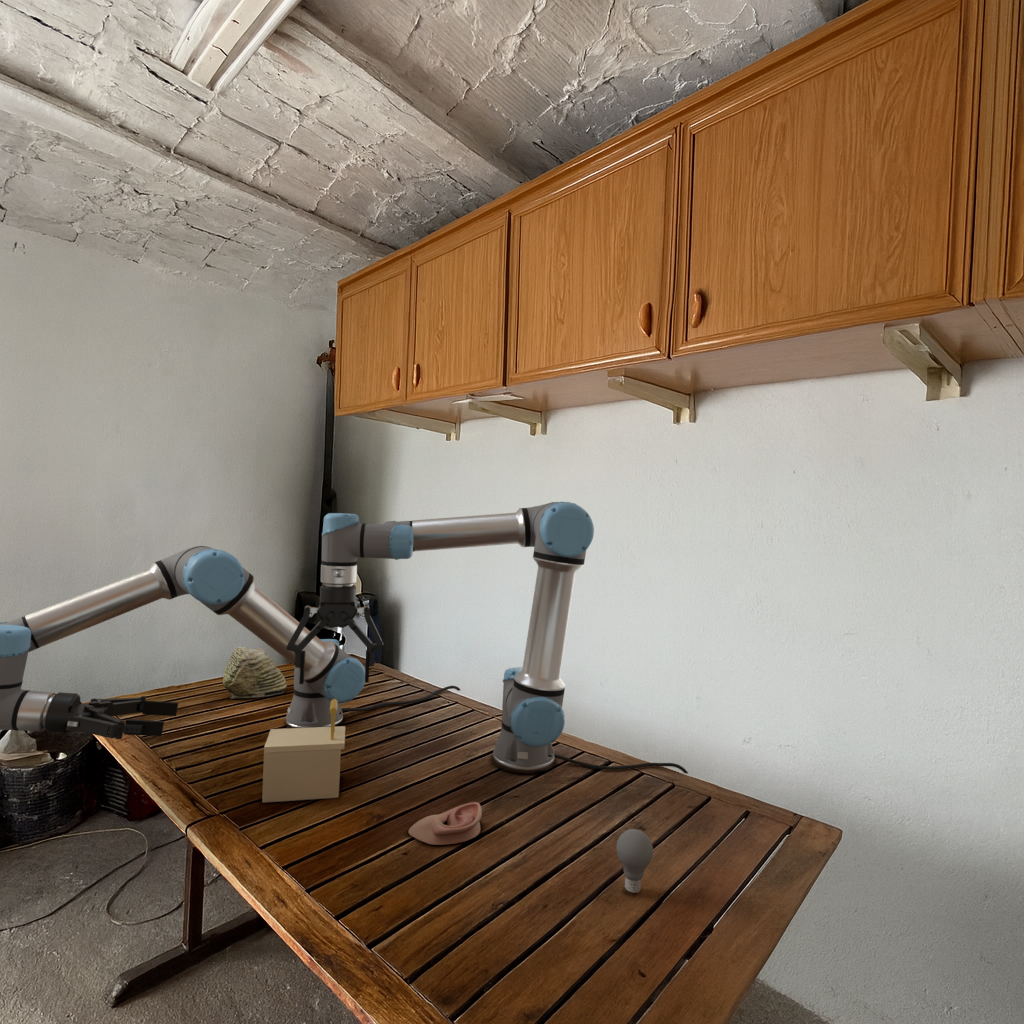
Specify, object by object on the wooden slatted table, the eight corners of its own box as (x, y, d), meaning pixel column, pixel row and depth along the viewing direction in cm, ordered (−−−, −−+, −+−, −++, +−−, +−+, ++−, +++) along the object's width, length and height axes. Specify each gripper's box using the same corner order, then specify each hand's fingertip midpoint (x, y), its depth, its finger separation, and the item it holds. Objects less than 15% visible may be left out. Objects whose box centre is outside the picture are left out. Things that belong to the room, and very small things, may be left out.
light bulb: (610, 879, 108) (613, 822, 108) (644, 879, 109) (647, 822, 109) (619, 902, 102) (622, 840, 102) (655, 901, 103) (658, 840, 103)
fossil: (218, 695, 195) (220, 647, 195) (278, 685, 208) (279, 640, 207) (228, 703, 189) (230, 653, 188) (289, 692, 201) (290, 645, 201)
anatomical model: (402, 819, 118) (423, 791, 129) (402, 840, 118) (422, 811, 129) (471, 829, 115) (486, 801, 126) (470, 851, 115) (486, 820, 126)
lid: (345, 731, 144) (346, 695, 143) (344, 749, 134) (346, 710, 134) (270, 734, 140) (271, 697, 140) (264, 753, 130) (265, 713, 130)
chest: (339, 776, 144) (341, 732, 143) (338, 797, 134) (340, 749, 134) (268, 781, 140) (270, 735, 140) (262, 802, 130) (264, 753, 130)
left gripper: (71, 713, 136) (179, 719, 142) (19, 753, 112) (152, 758, 118) (77, 677, 137) (185, 685, 143) (27, 710, 113) (159, 717, 119)
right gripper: (275, 586, 131) (271, 688, 131) (397, 587, 137) (393, 684, 137) (279, 581, 138) (276, 678, 138) (395, 582, 144) (391, 675, 144)
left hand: (170, 718), depth 131 cm, fingers open, 13 cm apart
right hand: (334, 681), depth 138 cm, fingers open, 13 cm apart
